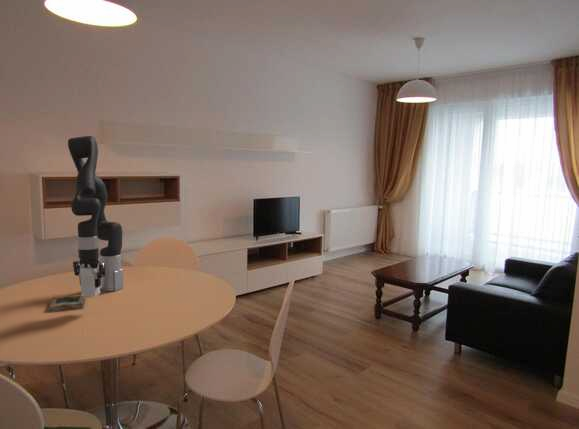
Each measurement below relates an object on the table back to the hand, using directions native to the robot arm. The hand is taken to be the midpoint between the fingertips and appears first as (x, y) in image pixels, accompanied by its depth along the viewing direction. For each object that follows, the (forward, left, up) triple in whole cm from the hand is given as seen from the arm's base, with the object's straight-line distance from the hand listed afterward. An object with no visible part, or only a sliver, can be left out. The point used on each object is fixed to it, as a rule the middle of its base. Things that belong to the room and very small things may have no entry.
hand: (90, 286), depth 168 cm
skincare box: (0, 0, -4) cm, 4 cm away
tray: (+15, -3, -11) cm, 19 cm away
